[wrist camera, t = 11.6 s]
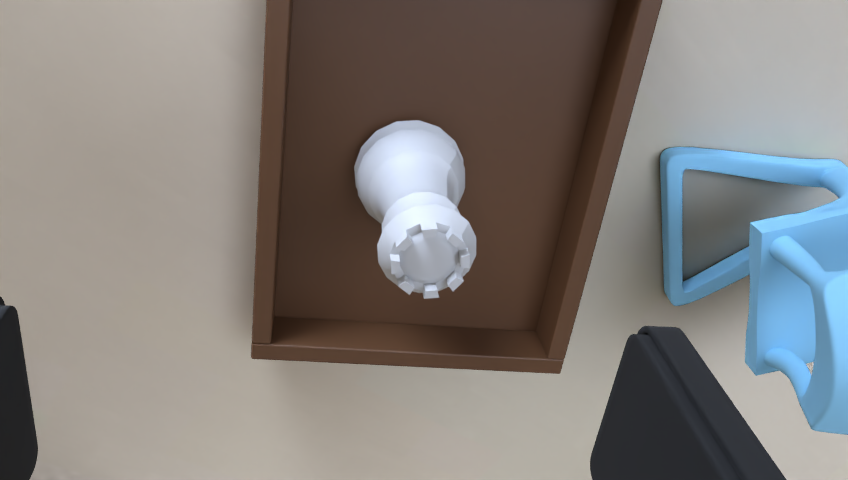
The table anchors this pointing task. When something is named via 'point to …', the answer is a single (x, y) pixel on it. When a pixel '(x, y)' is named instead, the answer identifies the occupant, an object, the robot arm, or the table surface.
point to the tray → (482, 158)
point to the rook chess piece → (417, 206)
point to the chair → (778, 275)
